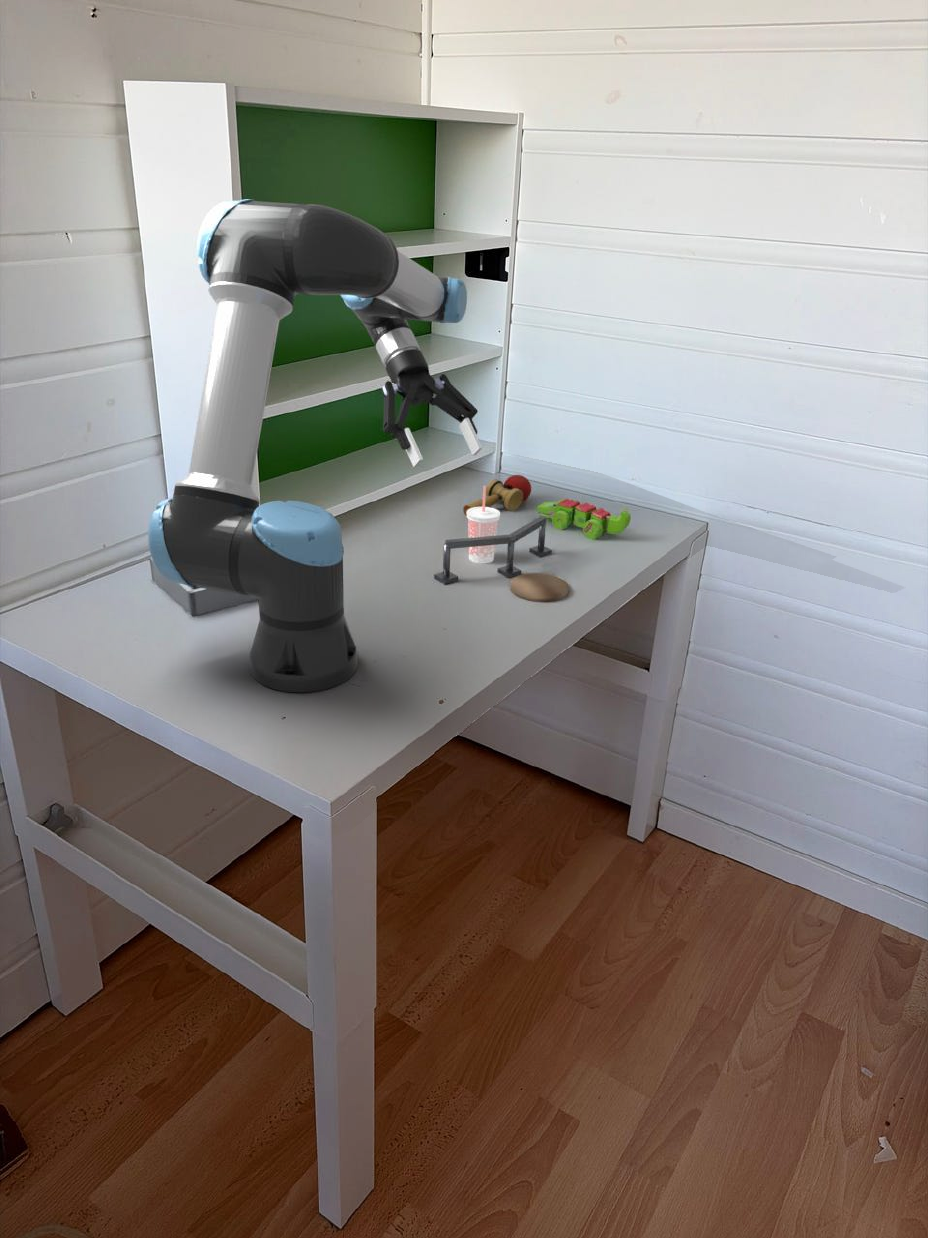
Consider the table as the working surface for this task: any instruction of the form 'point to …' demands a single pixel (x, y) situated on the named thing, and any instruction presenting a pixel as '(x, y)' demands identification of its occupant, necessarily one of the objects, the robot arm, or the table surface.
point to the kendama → (504, 493)
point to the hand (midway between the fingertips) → (448, 457)
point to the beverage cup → (482, 530)
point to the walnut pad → (539, 587)
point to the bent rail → (509, 539)
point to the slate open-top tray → (197, 595)
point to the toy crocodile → (584, 517)
